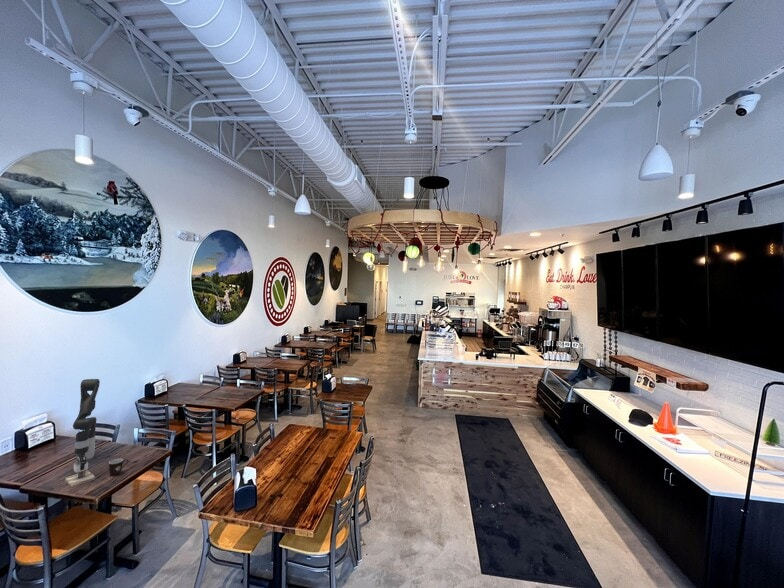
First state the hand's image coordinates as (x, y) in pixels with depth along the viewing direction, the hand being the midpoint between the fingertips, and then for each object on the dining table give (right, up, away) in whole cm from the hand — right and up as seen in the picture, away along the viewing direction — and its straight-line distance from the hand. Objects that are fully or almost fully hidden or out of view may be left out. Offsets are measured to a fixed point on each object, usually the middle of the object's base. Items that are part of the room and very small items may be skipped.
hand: (80, 468), depth 243 cm
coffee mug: (+20, -9, +9) cm, 24 cm away
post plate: (0, -8, 0) cm, 8 cm away
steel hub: (0, -1, 0) cm, 1 cm away
